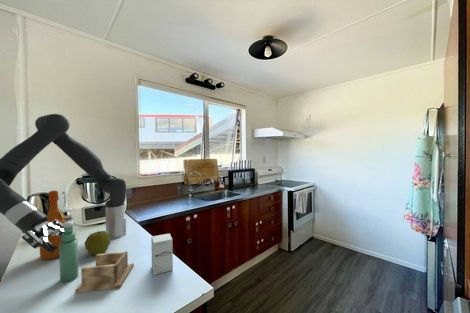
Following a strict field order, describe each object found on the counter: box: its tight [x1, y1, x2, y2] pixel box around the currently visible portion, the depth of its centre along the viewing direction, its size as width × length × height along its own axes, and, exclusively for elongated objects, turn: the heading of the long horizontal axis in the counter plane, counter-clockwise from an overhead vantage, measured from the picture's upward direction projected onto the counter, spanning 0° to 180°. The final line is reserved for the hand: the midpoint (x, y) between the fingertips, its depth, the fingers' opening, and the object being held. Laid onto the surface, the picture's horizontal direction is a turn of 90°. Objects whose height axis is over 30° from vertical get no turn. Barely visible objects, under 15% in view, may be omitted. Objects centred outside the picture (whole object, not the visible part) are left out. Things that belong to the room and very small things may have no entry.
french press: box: [59, 191, 76, 232], centre depth 120 cm, size 10×12×25 cm
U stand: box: [74, 251, 135, 294], centre depth 75 cm, size 14×14×7 cm
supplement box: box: [151, 233, 174, 276], centre depth 81 cm, size 7×7×13 cm
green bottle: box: [59, 220, 79, 284], centre depth 75 cm, size 5×5×21 cm
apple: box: [84, 230, 111, 256], centre depth 95 cm, size 10×10×11 cm
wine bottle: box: [39, 190, 66, 260], centre depth 93 cm, size 10×10×30 cm
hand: (63, 245), depth 75 cm, fingers open, 8 cm apart
